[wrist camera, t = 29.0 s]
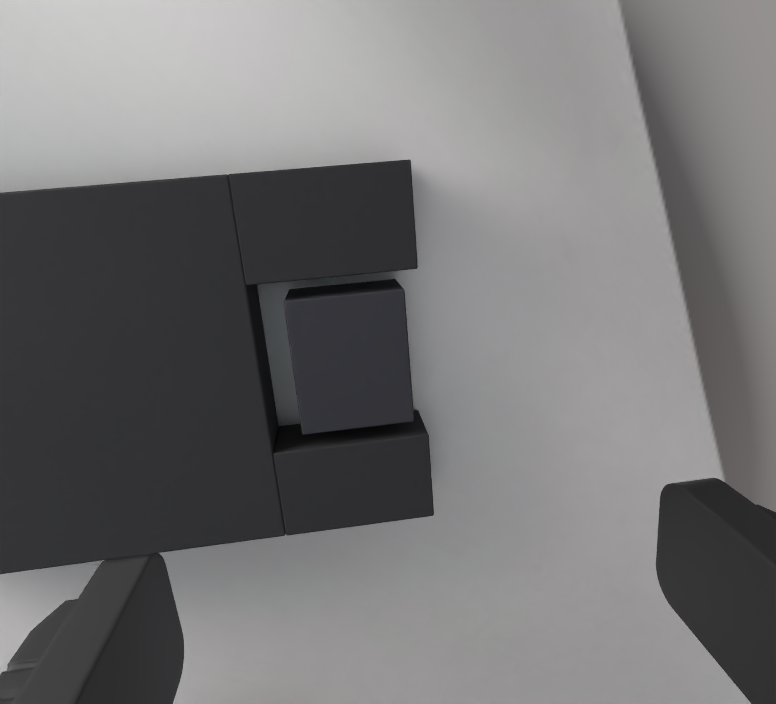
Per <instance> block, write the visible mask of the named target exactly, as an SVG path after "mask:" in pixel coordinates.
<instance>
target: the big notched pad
mask: <svg viewBox="0 0 776 704" xmlns="http://www.w3.org/2000/svg"><path fill="white" fill-rule="evenodd" d="M417 268H418V265H417V250H416V234H415V219H414V204H413V189H412V174H411V161H410V160H400V161H387V162H375V163H362V164H350V165H338V166H325V167H313V168H301V169H288V170H276V171H264V172H251V173H239V174H229V175H215V176H203V177H190V178H178V179H165V180H153V181H141V182H128V183H116V184H104V185H91V186H79V187H67V188H54V189H42V190H29V191H17V192H5V193H0V574H5V573H12V572H20V571H27V570H34V569H42V568H49V567H56V566H64V565H71V564H79V563H86V562H93V561H101V560H107V559H114V558H121V557H128V556H135V555H143V554H150V553H160V552H167V551H175V550H182V549H189V548H197V547H204V546H212V545H219V544H226V543H234V542H241V541H248V540H256V539H263V538H271V537H278V536H284V535H285V534H286V535H294V534H301V533H309V532H316V531H323V530H331V529H338V528H346V527H353V526H360V525H368V524H375V523H382V522H390V521H397V520H405V519H412V518H419V517H427V516H433V515H434V509H433V494H432V479H431V464H430V448H429V435H428V433H427V430H426V428H425V426H424V423H423V421H422V419H421V416H420V414H419V412H418V410H415V411H413V413H414V421H412V422H404V423H396V424H387V425H379V426H371V427H362V428H354V429H346V430H338V431H329V432H321V433H313V434H305V435H303V434H302V430H301V424H297V425H289V426H281V427H278V420H277V414H276V407H275V401H274V394H273V388H272V381H271V375H270V368H269V362H268V355H267V349H266V342H265V336H264V329H263V323H262V316H261V310H260V303H259V296H258V290H257V284H265V283H275V282H285V281H296V280H306V279H316V278H326V277H337V276H347V275H357V274H367V273H378V272H388V271H398V270H408V269H417Z"/></svg>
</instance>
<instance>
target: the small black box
mask: <svg viewBox="0 0 776 704" xmlns="http://www.w3.org/2000/svg"><path fill="white" fill-rule="evenodd" d="M284 308H285V315H286V322H287V329H288V337H289V344H290V351H291V358H292V365H293V372H294V379H295V387H296V394H297V401H298V408H299V415H300V422H301V430H302V434H303V435H305V434H313V433H321V432H329V431H338V430H346V429H354V428H362V427H371V426H379V425H387V424H396V423H404V422H412V421H414V413H413V399H412V385H411V372H410V358H409V345H408V331H407V317H406V304H405V291H404V289H403V288H402V287H401V285H400V284H399V283H398V282H397V281H396V280H395V279H391V280H381V281H371V282H361V283H351V284H340V285H330V286H320V287H310V288H300V289H290V290H289V291H288V294H287V296H286V298H285V301H284Z"/></svg>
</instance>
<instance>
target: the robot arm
mask: <svg viewBox="0 0 776 704" xmlns="http://www.w3.org/2000/svg"><path fill="white" fill-rule="evenodd" d="M656 570H657V576H658V580H659V583H660V586H661V589H662V591H663V594H664V596H665V598H666V599H667V601H668V603H669V604H670V605H671V607H672V608H673V609H674V611H675V612H676V613H677V614H678V615H679V617H680V618H681V619H682V620H683V621H684V623H685V624H686V625H687V626H688V627H689V629H690V630H691V631H692V632H693V634H694V635H695V636H696V637H697V638H698V640H699V641H700V642H701V643H702V644H703V646H704V647H705V648H706V649H707V650H708V652H709V653H710V654H711V655H712V656H713V658H714V659H715V660H716V661H717V662H718V664H719V665H720V666H721V667H722V669H723V670H724V671H725V672H726V673H727V675H728V676H729V677H730V678H731V679H732V681H733V682H734V683H735V684H736V685H737V687H738V688H739V689H740V690H741V691H742V693H743V694H744V695H745V696H746V697H747V699H748V700H749V701H750V702H751V704H776V512H773V511H771V510H769V509H767V508H764V507H762V506H760V505H755V504H754V503H752V502H751V501H749V500H748V499H747V498H745V497H744V496H742V495H741V494H740V493H738V492H737V491H736V490H734V489H733V488H731V487H730V486H729V485H727V484H726V483H725V482H723V481H721V480H719V479H717V478H709V479H701V480H694V481H687V482H679V483H672V484H667V485H666V486H665V487H664V488H663V490H662V492H661V496H660V509H659V525H658V541H657V557H656ZM183 660H184V640H183V633H182V628H181V624H180V620H179V616H178V612H177V608H176V604H175V600H174V596H173V592H172V588H171V584H170V580H169V576H168V572H167V568H166V564H165V561H164V559H163V557H162V556H161V555H160V554H159V553H150V554H143V555H135V556H128V557H121V558H114V559H107V560H105V561H103V562H102V563H101V564H100V566H99V567H98V568H97V570H96V572H95V573H94V575H93V576H92V578H91V579H90V581H89V583H88V584H87V586H86V587H85V589H84V590H83V592H82V594H81V595H80V597H79V598H78V599H75V600H68V601H65V602H64V603H63V604H61V605H60V606H59V607H58V608H57V609H56V610H54V611H53V612H52V613H51V614H50V615H49V616H48V617H46V618H45V619H44V620H43V621H42V622H41V623H40V624H38V625H37V626H36V627H35V628H34V629H33V630H32V631H31V632H30V633H29V635H28V636H27V638H26V639H25V640H24V642H23V643H22V645H21V646H20V648H19V649H18V650H17V652H16V653H15V655H14V656H13V658H12V659H11V660H10V662H9V663H8V668H7V671H6V672H2V673H1V675H0V704H173V701H174V698H175V695H176V691H177V688H178V685H179V682H180V678H181V674H182V669H183Z"/></svg>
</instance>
